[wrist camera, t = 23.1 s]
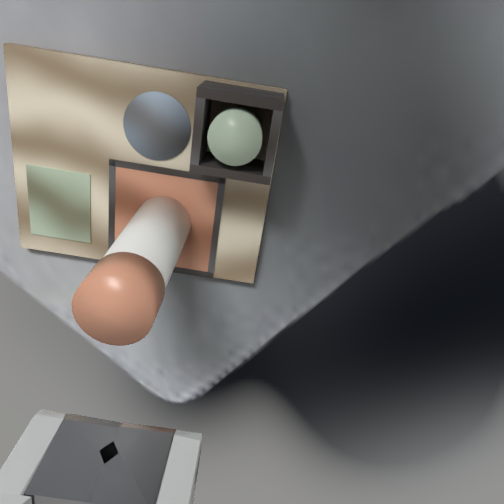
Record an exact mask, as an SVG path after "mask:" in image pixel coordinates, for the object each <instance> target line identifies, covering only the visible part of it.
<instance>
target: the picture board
mask: <svg viewBox="0 0 504 504" xmlns="http://www.w3.org/2000/svg"><path fill="white" fill-rule="evenodd" d="M3 46H4V58H5V69H6V81H7V92H8V104H9V115H10V127H11V138H12V150H13V161H14V173H15V184H16V195H17V207H18V218H19V230H20V241H21V247H23V248H29V249H35V250H42V251H48V252H54V253H61V254H67V255H74V256H80V257H86V258H93V259H99V260H100V259H101V258H103V257H104V255H105V254H106V253H107V251H108V250H109V249H110V247H111V246H112V244H113V243H114V242H115V240H116V239H117V238H118V236H119V235H120V234H121V232H122V231H123V229H124V228H125V227H126V225H127V224H128V223H129V221H130V220H131V219H132V217H133V216H134V214H135V213H136V212H137V210H138V209H139V208H140V206H141V205H142V204H143V203H144V202H145V201H146V200H148V199H150V198H152V197H156V196H166V197H170V198H173V199H175V200H177V201H178V202H180V203H181V204H182V205H183V206H184V207H185V208H186V210H187V211H188V213H189V216H190V219H191V228H190V232H189V234H188V236H187V239H186V241H185V244H184V246H183V248H182V251H181V253H180V256H179V258H178V260H177V263H176V265H175V268H174V270H173V272H177V273H183V274H190V275H196V276H203V277H209V278H213V277H214V278H220V279H227V280H233V281H240V282H246V283H252V284H253V282H254V276H255V271H256V265H257V259H258V254H259V248H260V242H261V237H262V231H263V225H264V220H265V214H266V208H267V203H268V197H269V191H270V186H271V180H272V174H273V169H274V163H275V157H276V152H277V146H278V140H279V135H280V129H281V123H282V118H283V112H284V107H285V101H286V95H287V89H283V88H277V87H271V86H265V85H259V84H253V83H247V82H241V81H235V80H229V79H223V78H217V77H211V76H205V75H199V74H193V73H187V72H181V71H175V70H169V69H163V68H157V67H151V66H145V65H139V64H133V63H127V62H121V61H115V60H109V59H103V58H97V57H91V56H85V55H79V54H73V53H67V52H61V51H55V50H48V49H42V48H36V47H30V46H24V45H18V44H12V43H4V44H3ZM230 106H243V107H246V108H248V109H250V110H252V111H253V112H254V113H255V114H256V115H257V116H258V117H259V119H260V121H261V123H262V127H263V139H262V145H261V148H260V151H259V153H258V154H257V156H256V157H255V158H254V159H253V160H252V161H250V162H249V163H247V164H244V165H240V166H231V165H227V164H224V163H222V162H221V161H219V160H218V159H217V158H216V157H215V156H214V155H213V154H212V152H211V150H210V148H209V146H208V140H207V135H208V130H209V127H210V125H211V123H212V122H213V120H214V119H215V117H216V116H217V114H218V113H219V112H220V111H222V110H223V109H225V108H227V107H230Z"/></svg>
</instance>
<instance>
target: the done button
mask: <svg viewBox="0 0 504 504" xmlns="http://www.w3.org/2000/svg"><path fill="white" fill-rule="evenodd" d="M262 139H263V127H262V123H261V121H260V119H259V117H258V116H257V115H256V114H255V113H254V112H253V111H252V110H250V109H248V108H246V107H243V106H230V107H227V108H225V109H223V110H222V111H220V112H219V113H218V114H217V116H216V117H215V119H214V120H213V122H212V123H211V125H210V127H209V130H208V135H207V140H208V146H209V148H210V150H211V152H212V154H213V155H214V156H215V157H216V158H217V159H218V160H219V161H221V162H222V163H224V164H227V165H231V166H240V165H244V164H247V163H249V162H250V161H252V160H253V159H254V158H255V157H256V156H257V154H258V153H259V151H260V148H261V145H262Z"/></svg>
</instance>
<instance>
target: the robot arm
mask: <svg viewBox="0 0 504 504" xmlns="http://www.w3.org/2000/svg"><path fill="white" fill-rule="evenodd" d="M202 440H203V434H201V433H194V432H188V431H180V430H176V429H169V428H163V427H155V426H148V425H141V424H133V423H126V422H123V423H120V422H114V421H108V420H103V419H97V418H92V417H86V416H81V415H75V414H68V413H62V412H56V411H50V410H44V409H41V410H40V411H39V412H38V413H37V414H36V415H35V416H34V417H33V418H32V420H31V421H30V423H29V425H28V426H27V428H26V430H25V431H24V433H23V434H22V436H21V438H20V439H19V441H18V442H17V444H16V446H15V447H14V449H13V450H12V452H11V454H10V455H9V457H8V458H7V460H6V462H5V463H4V465H3V466H2V468H1V470H0V504H193V501H194V493H195V487H196V481H197V474H198V466H199V460H200V454H201V447H202Z"/></svg>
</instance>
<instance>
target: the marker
mask: <svg viewBox="0 0 504 504" xmlns="http://www.w3.org/2000/svg"><path fill="white" fill-rule="evenodd" d="M190 228H191V219H190V216H189V213H188V211H187V210H186V208H185V207H184V206H183V205H182V204H181V203H180V202H178V201H177V200H175V199H173V198H170V197H166V196H156V197H152V198H150V199H148V200H146V201H145V202H144V203H143V204H142V205H141V206H140V208H139V209H138V210H137V212H136V213H135V214H134V216H133V217H132V219H131V220H130V221H129V223H128V224H127V225H126V227H125V228H124V229H123V231H122V232H121V234H120V235H119V236H118V238H117V239H116V240H115V242H114V243H113V244H112V246H111V247H110V249H109V250H108V251H107V253H106V254H105V255H104V257H103V258H101V259H100V260H99V261H98V262H97V263H96V265H95V266H94V267H93V269H92V270H91V271H90V273H89V274H88V275H87V277H86V278H85V279H84V281H83V282H82V284H81V285H80V286H79V288H78V289H77V290H76V292H75V294H74V296H73V300H72V312H73V315H74V318H75V320H76V322H77V323H78V325H79V326H80V327H81V329H82V330H83V331H84V332H85V333H87V334H88V335H89V336H91V337H92V338H94V339H96V340H98V341H100V342H102V343H106V344H110V345H117V346H122V345H129V344H133V343H136V342H138V341H140V340H141V339H143V338H144V337H145V336H146V335H147V334H148V333H149V331H150V329H151V327H152V325H153V323H154V320H155V318H156V315H157V313H158V310H159V308H160V306H161V303H162V301H163V298H164V295H165V289H166V287H167V284H168V282H169V280H170V277H171V275H172V272H173V270H174V268H175V265H176V263H177V260H178V258H179V256H180V253H181V251H182V248H183V246H184V244H185V241H186V239H187V236H188V234H189V232H190Z"/></svg>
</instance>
